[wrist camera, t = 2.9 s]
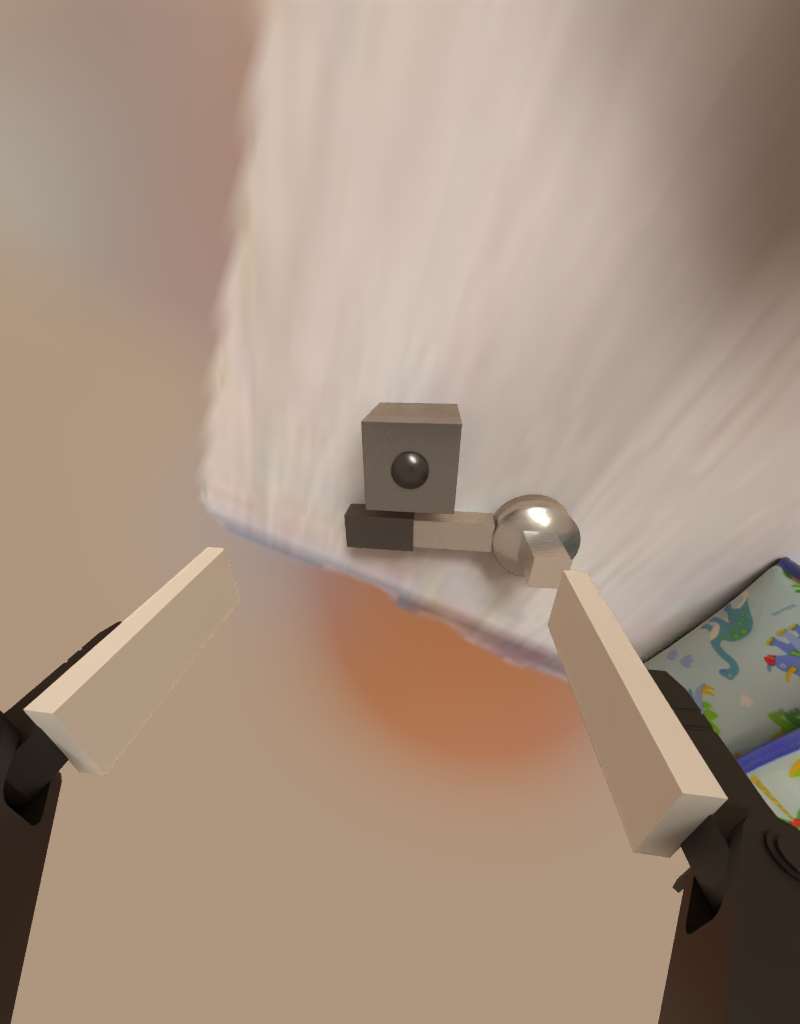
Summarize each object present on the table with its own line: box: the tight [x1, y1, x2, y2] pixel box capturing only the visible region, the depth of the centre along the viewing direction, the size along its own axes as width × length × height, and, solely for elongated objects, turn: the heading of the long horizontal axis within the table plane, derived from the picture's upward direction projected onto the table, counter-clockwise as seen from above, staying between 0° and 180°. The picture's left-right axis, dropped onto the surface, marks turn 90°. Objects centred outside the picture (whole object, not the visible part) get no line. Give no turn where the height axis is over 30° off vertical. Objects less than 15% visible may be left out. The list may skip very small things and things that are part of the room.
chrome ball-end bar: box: [344, 495, 580, 589], centre depth 32 cm, size 8×23×8 cm, turn 90°
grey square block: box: [361, 403, 462, 514], centre depth 28 cm, size 7×7×8 cm
